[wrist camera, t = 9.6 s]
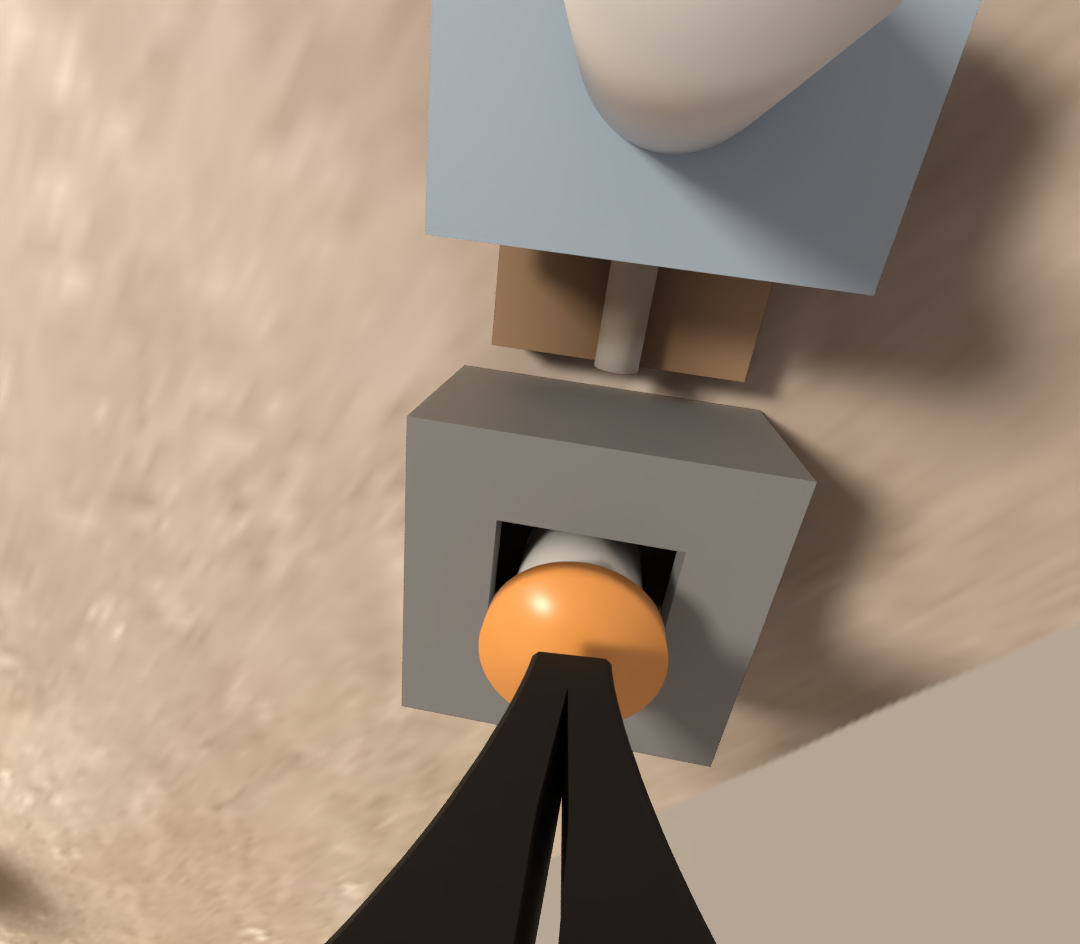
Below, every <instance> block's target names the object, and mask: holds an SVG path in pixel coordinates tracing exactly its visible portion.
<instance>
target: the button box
mask: <svg viewBox="0 0 1080 944" xmlns="http://www.w3.org/2000/svg"><path fill="white" fill-rule="evenodd" d="M816 483H817V481H816V480H815V479H814V478H813V476H812V475H811V474H810V473H809V471H808V470H807V469H806V468H805V466H804V465H803V464H802V463H801V461H800V460H799V459H798V458H797V456H796V455H795V454H794V453H793V451H792V450H791V449H790V448H789V446H788V445H787V444H786V443H785V441H784V440H783V439H782V438H781V436H780V435H779V434H778V433H777V431H776V430H775V429H774V428H773V426H772V425H771V424H770V422H769V421H768V420H767V419H766V417H765V416H764V415H763V414H762V412H761V411H760V410H754V409H748V408H741V407H735V406H728V405H722V404H715V403H708V402H702V401H695V400H689V399H682V398H676V397H669V396H663V395H656V394H649V393H643V392H636V391H630V390H623V389H617V388H610V387H604V386H597V385H590V384H584V383H577V382H571V381H564V380H558V379H551V378H545V377H538V376H531V375H525V374H518V373H512V372H505V371H499V370H492V369H485V368H479V367H472V366H466V365H464V366H463V367H462V368H461V369H460V370H459V371H457V372H456V373H455V374H454V375H453V376H452V377H451V378H450V379H448V380H447V381H446V382H445V383H444V384H443V385H442V386H441V387H439V388H438V389H437V390H436V391H435V392H434V393H433V394H431V395H430V396H429V397H428V398H427V399H426V400H425V401H424V402H422V403H421V404H420V405H419V406H418V407H417V408H416V409H415V410H413V411H412V412H411V413H410V414H409V415H408V416H407V435H406V492H405V548H404V605H403V662H402V706H404V707H410V708H415V709H420V710H425V711H430V712H435V713H440V714H445V715H450V716H455V717H460V718H465V719H470V720H475V721H480V722H486V723H491V724H496V725H498V723H499V722H500V720H501V718H502V717H503V715H504V713H505V712H506V710H507V708H508V706H509V704H510V703H509V702H507V701H506V700H505V699H504V698H503V697H502V696H501V695H500V694H499V693H498V692H497V691H496V690H495V688H494V687H493V686H492V685H491V683H490V681H489V680H488V678H487V677H486V675H485V672H484V670H483V668H482V665H481V662H480V657H479V636H480V631H481V628H482V625H483V622H484V619H485V616H486V613H487V611H488V608H489V605H490V603H491V601H492V599H493V597H494V596H495V594H496V593H497V592H498V590H499V588H495V583H496V573H497V563H498V554H499V544H500V535H501V525H502V521H505V522H511V523H516V524H522V525H528V526H534V527H540V528H546V529H551V530H557V531H563V532H569V533H575V534H581V535H586V536H592V537H598V538H604V539H610V540H616V541H621V542H627V543H633V544H639V545H645V546H651V547H656V548H662V549H668V550H674V551H677V553H676V557H675V561H674V564H673V568H672V572H671V575H670V579H669V583H668V587H667V590H666V594H665V598H664V601H663V605H662V609H661V613H660V615H661V617H662V620H663V623H664V627H665V634H666V642H667V650H668V669H667V674H666V678H665V680H664V683H663V685H662V687H661V689H660V690H659V692H658V694H657V695H656V696H655V697H654V699H653V700H652V701H651V702H650V703H649V704H648V705H647V706H645V707H644V708H643V709H642V710H640V711H639V712H637V713H636V714H634V715H632V716H630V717H628V718H626V719H624V720H623V723H624V727H625V730H626V733H627V736H628V740H629V743H630V746H631V749H632V751H633V752H638V753H643V754H648V755H653V756H658V757H663V758H668V759H673V760H678V761H683V762H688V763H693V764H699V765H704V766H709V767H711V764H712V761H713V759H714V756H715V753H716V751H717V748H718V745H719V743H720V740H721V737H722V735H723V732H724V729H725V727H726V724H727V721H728V719H729V716H730V713H731V711H732V708H733V705H734V703H735V700H736V697H737V695H738V692H739V689H740V686H741V684H742V681H743V678H744V676H745V673H746V670H747V668H748V665H749V662H750V660H751V657H752V654H753V652H754V649H755V646H756V644H757V641H758V638H759V636H760V633H761V630H762V628H763V625H764V622H765V620H766V617H767V614H768V612H769V609H770V606H771V604H772V601H773V598H774V596H775V593H776V590H777V588H778V585H779V582H780V580H781V577H782V574H783V572H784V569H785V566H786V564H787V561H788V558H789V555H790V553H791V550H792V547H793V545H794V542H795V539H796V537H797V534H798V531H799V529H800V526H801V523H802V521H803V518H804V515H805V513H806V510H807V507H808V505H809V502H810V499H811V497H812V494H813V491H814V489H815V486H816Z"/></svg>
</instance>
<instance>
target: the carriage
mask: <svg viewBox="0 0 1080 944" xmlns="http://www.w3.org/2000/svg"><path fill="white" fill-rule="evenodd" d="M980 3H981V0H432V15H431V50H430V85H429V120H428V155H427V191H426V226H425V235H433V236H440V237H447V238H454V239H462V240H469V241H476V242H484V243H491V244H498V245H506V246H513V247H520V248H528V249H535V250H542V251H550V252H557V253H564V254H572V255H579V256H586V257H594V258H601V259H608V260H616V261H623V262H630V263H638V264H645V265H652V266H659V267H667V268H674V269H681V270H689V271H696V272H703V273H711V274H718V275H725V276H733V277H740V278H747V279H755V280H762V281H769V282H777V283H784V284H791V285H799V286H806V287H813V288H821V289H828V290H835V291H843V292H850V293H857V294H864V295H872V296H874V294H875V291H876V288H877V286H878V283H879V280H880V277H881V275H882V272H883V269H884V266H885V264H886V261H887V258H888V255H889V253H890V250H891V247H892V244H893V242H894V239H895V236H896V233H897V231H898V228H899V225H900V222H901V220H902V217H903V214H904V211H905V209H906V206H907V203H908V200H909V198H910V195H911V192H912V189H913V187H914V184H915V181H916V178H917V176H918V173H919V170H920V168H921V165H922V162H923V159H924V157H925V154H926V151H927V148H928V146H929V143H930V140H931V137H932V135H933V132H934V129H935V126H936V124H937V121H938V118H939V115H940V113H941V110H942V107H943V104H944V102H945V99H946V96H947V93H948V91H949V88H950V85H951V82H952V80H953V77H954V74H955V71H956V69H957V66H958V63H959V60H960V58H961V55H962V52H963V50H964V47H965V44H966V41H967V39H968V36H969V33H970V30H971V28H972V25H973V22H974V19H975V17H976V14H977V11H978V8H979V6H980Z"/></svg>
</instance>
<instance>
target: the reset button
mask: <svg viewBox="0 0 1080 944" xmlns="http://www.w3.org/2000/svg"><path fill="white" fill-rule="evenodd" d="M539 651H540V652H549V653H558V654H567V655H576V656H586V657H595V658H604V659H607V660H608V661H609V662H610V663H611V664H612V674H613V681H614V686H615V691H616V696H617V700H618V704H619V708H620V712H621V716H622V719H623V720H624V719H626V718H628V717H630V716H632V715H634V714H636V713H637V712H639V711H640V710H642V709H643V708H644V707H645V706H647V705H648V704H649V703H650V702H651V701H652V700H653V699H654V697H655V696H656V695H657V694H658V692H659V690H660V689H661V687H662V685H663V683H664V680H665V678H666V674H667V669H668V650H667V642H666V634H665V627H664V623H663V620H662V617H661V615H660V613H659V611H658V609H657V607H656V605H655V604H654V603H653V601H652V600H651V598H650V597H649V596H648V595H647V594H646V593H645V592H644V591H643V590H642V576H641V562H640V553H639V548H638V545H637V544H633V543H627V542H621V541H616V540H610V539H604V538H598V537H592V536H586V535H581V534H575V533H569V532H563V531H557V530H551V529H546V528H540V527H535V528H534V530H533V531H532V532H531V534H530V536H529V538H528V541H527V543H526V547H525V550H524V554H523V557H522V561H521V564H520V567H519V571H518V574H517V575H516V576H514V577H513V578H511V579H510V580H508V581H507V582H506V583H505V584H504V585H503V586H502V587H501V588H500V589H499V590H498V592H497V593H496V594H495V596H494V597H493V599H492V601H491V603H490V605H489V608H488V611H487V613H486V616H485V619H484V622H483V625H482V628H481V631H480V636H479V657H480V662H481V665H482V668H483V670H484V672H485V675H486V677H487V678H488V680H489V681H490V683H491V685H492V686H493V687H494V688H495V690H496V691H497V692H498V693H499V694H500V695H501V696H502V697H503V698H504V699H505V700H506V701H507V702H509V703H510V702H511V701H512V699H513V697H514V695H515V693H516V691H517V689H518V687H519V685H520V683H521V681H522V679H523V677H524V675H525V673H526V671H527V668H528V666H529V663H530V661H531V658H532V656H533V655H534V654H536V653H537V652H539Z"/></svg>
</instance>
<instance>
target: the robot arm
mask: <svg viewBox="0 0 1080 944" xmlns="http://www.w3.org/2000/svg"><path fill="white" fill-rule="evenodd" d="M561 798H562V842H561V921H560V933H559V944H716V942H715V940H714V938H713V937H712V935H711V933H710V930H709V929H708V927H707V925H706V923H705V921H704V919H703V917H702V915H701V913H700V911H699V909H698V907H697V905H696V903H695V901H694V899H693V896H692V894H691V892H690V890H689V888H688V886H687V884H686V882H685V880H684V878H683V876H682V873H681V871H680V869H679V867H678V865H677V863H676V860H675V858H674V856H673V854H672V851H671V849H670V847H669V845H668V842H667V840H666V838H665V835H664V833H663V831H662V828H661V826H660V823H659V821H658V818H657V816H656V814H655V811H654V809H653V806H652V804H651V801H650V799H649V796H648V793H647V791H646V788H645V786H644V783H643V780H642V778H641V775H640V772H639V769H638V766H637V763H636V760H635V757H634V754H633V751H632V749H631V746H630V743H629V740H628V736H627V733H626V730H625V727H624V723H623V719H622V716H621V712H620V708H619V704H618V700H617V696H616V691H615V686H614V681H613V674H612V664H611V663H610V662H609V661H608V660H607V659H604V658H595V657H586V656H576V655H567V654H558V653H549V652H540V651H539V652H537V653H536V654H534V655H533V656H532V658H531V661H530V663H529V666H528V668H527V671H526V673H525V675H524V677H523V679H522V681H521V683H520V685H519V687H518V689H517V691H516V693H515V695H514V697H513V699H512V701H511V702H510V704H509V706H508V708H507V710H506V712H505V713H504V715H503V717H502V718H501V720H500V722H499V723H498V725H497V726H496V728H495V730H494V731H493V733H492V735H491V736H490V738H489V740H488V741H487V743H486V745H485V746H484V748H483V749H482V751H481V752H480V754H479V756H478V757H477V758H476V760H475V761H474V763H473V764H472V766H471V767H470V769H469V770H468V771H467V773H466V774H465V776H464V777H463V779H462V780H461V782H460V783H459V785H458V786H457V787H456V789H455V790H454V792H453V793H452V795H451V796H450V797H449V799H448V800H447V801H446V803H445V804H444V805H443V807H442V808H441V809H440V811H439V812H438V813H437V815H436V816H435V817H434V819H433V820H432V821H431V823H430V824H429V825H428V827H427V828H426V829H425V830H424V832H423V833H422V834H421V835H420V837H419V838H418V839H417V840H416V842H415V843H414V844H413V845H412V847H411V848H410V849H409V850H408V851H407V853H406V854H405V855H404V856H403V858H402V859H401V860H400V861H399V862H398V863H397V865H396V866H395V867H394V868H393V869H392V870H391V871H390V873H389V874H388V875H387V876H386V877H385V878H384V880H383V881H382V882H381V883H380V884H379V885H378V886H377V888H376V889H375V890H374V891H373V892H372V893H371V895H370V896H369V897H368V898H367V899H366V900H365V901H364V902H363V904H362V905H361V906H360V907H359V908H358V909H357V910H356V911H355V912H354V913H353V915H352V916H351V917H350V918H349V919H348V920H347V921H346V922H345V923H344V924H343V925H342V926H341V928H340V929H339V930H338V931H337V932H336V933H335V934H334V935H333V936H332V937H331V938H330V939H329V940H328V941H327V942H326V943H325V944H535V941H536V936H537V930H538V925H539V919H540V914H541V908H542V903H543V897H544V892H545V886H546V880H547V875H548V870H549V864H550V859H551V854H552V848H553V843H554V837H555V832H556V826H557V820H558V815H559V809H560V804H561Z"/></svg>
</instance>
